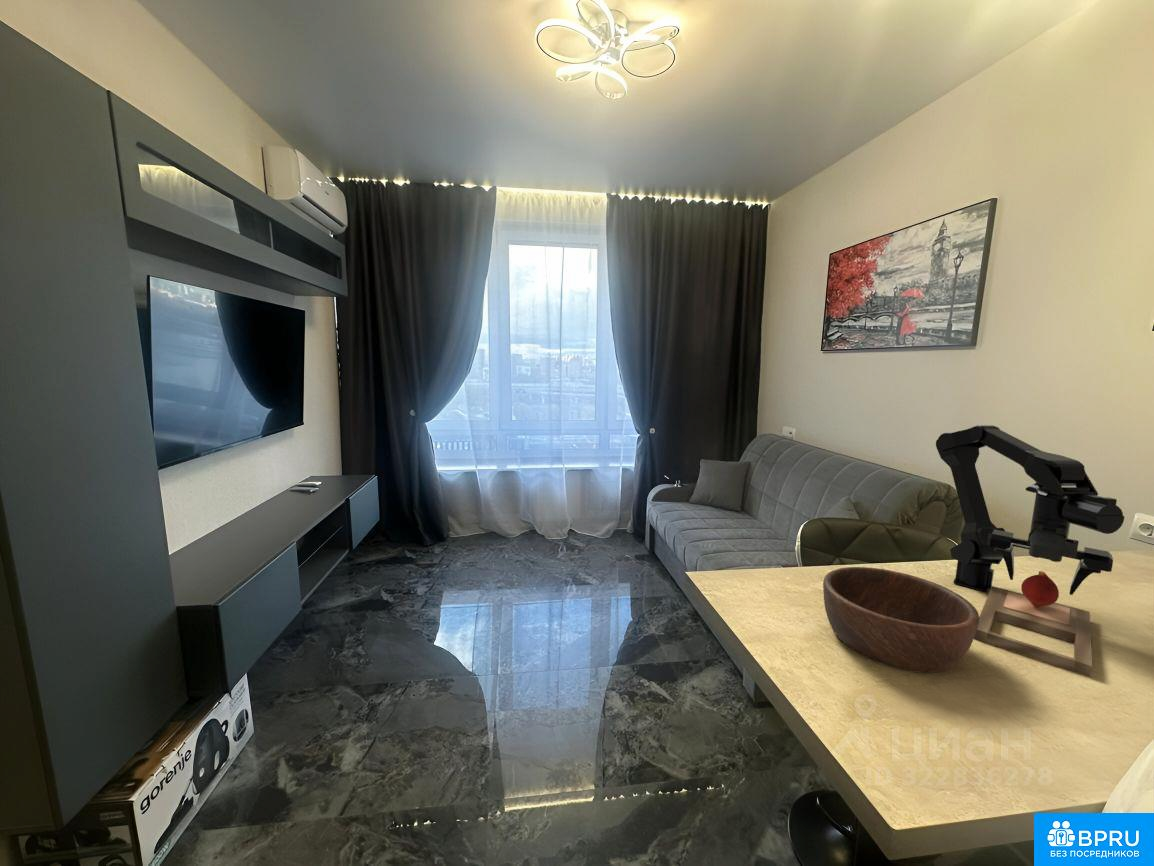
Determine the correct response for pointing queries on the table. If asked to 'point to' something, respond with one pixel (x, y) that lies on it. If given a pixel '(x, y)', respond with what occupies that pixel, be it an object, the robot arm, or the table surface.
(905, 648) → the wooden bowl
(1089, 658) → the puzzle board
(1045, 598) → the onion
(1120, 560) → the table surface
